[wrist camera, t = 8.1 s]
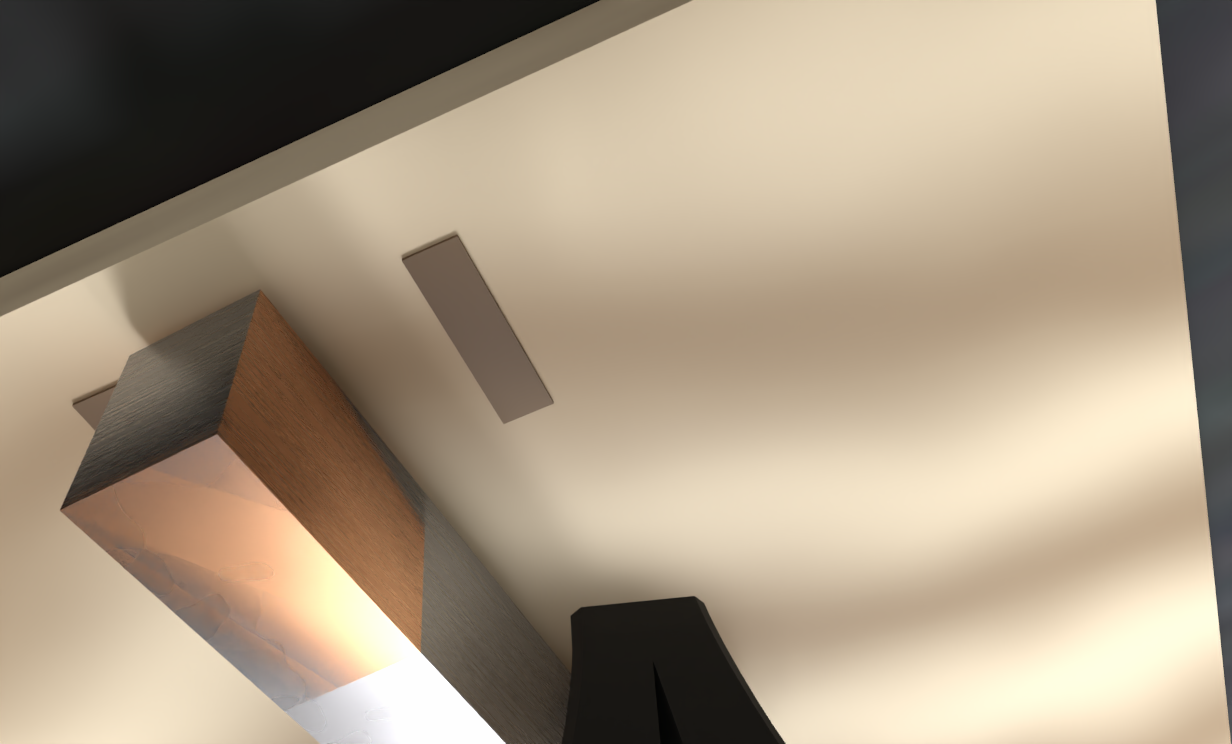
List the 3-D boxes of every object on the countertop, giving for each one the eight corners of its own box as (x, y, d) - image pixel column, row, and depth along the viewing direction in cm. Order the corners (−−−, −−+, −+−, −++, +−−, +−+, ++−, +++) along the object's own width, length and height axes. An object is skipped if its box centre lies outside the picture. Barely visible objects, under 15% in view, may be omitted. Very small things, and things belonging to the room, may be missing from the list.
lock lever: (797, 807, 22) (841, 957, 19) (534, 908, 22) (544, 1064, 20) (397, 220, 13) (383, 353, 11) (4, 418, 14) (-90, 583, 12)
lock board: (1199, 747, 25) (1238, 805, 24) (378, 1026, 28) (375, 1092, 27) (1070, -218, 13) (1138, -202, 12) (-376, 451, 16) (-449, 523, 14)
